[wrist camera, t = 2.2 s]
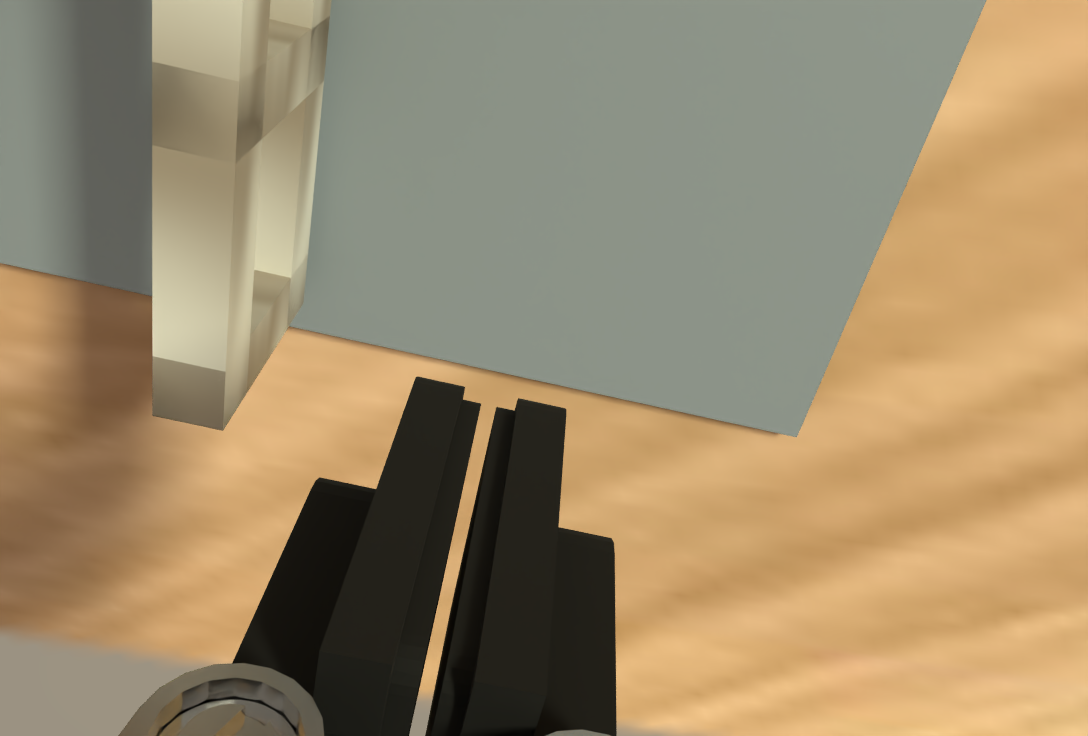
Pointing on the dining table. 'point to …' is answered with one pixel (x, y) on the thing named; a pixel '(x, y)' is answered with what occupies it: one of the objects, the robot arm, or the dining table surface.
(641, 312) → the card
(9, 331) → the dining table surface
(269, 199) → the fence gate
